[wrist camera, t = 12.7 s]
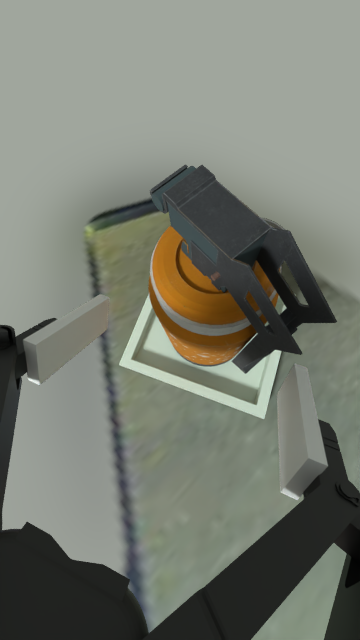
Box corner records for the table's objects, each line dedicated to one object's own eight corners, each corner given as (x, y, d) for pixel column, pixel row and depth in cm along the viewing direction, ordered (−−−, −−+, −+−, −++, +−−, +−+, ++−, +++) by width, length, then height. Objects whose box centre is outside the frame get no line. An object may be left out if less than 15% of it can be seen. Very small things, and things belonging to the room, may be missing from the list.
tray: (288, 302, 31) (296, 294, 28) (258, 417, 27) (264, 419, 25) (166, 266, 33) (164, 256, 31) (125, 367, 30) (118, 364, 27)
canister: (210, 279, 31) (227, 97, 12) (275, 346, 28) (435, 244, 9) (153, 325, 30) (74, 203, 11) (216, 399, 27) (257, 410, 8)
